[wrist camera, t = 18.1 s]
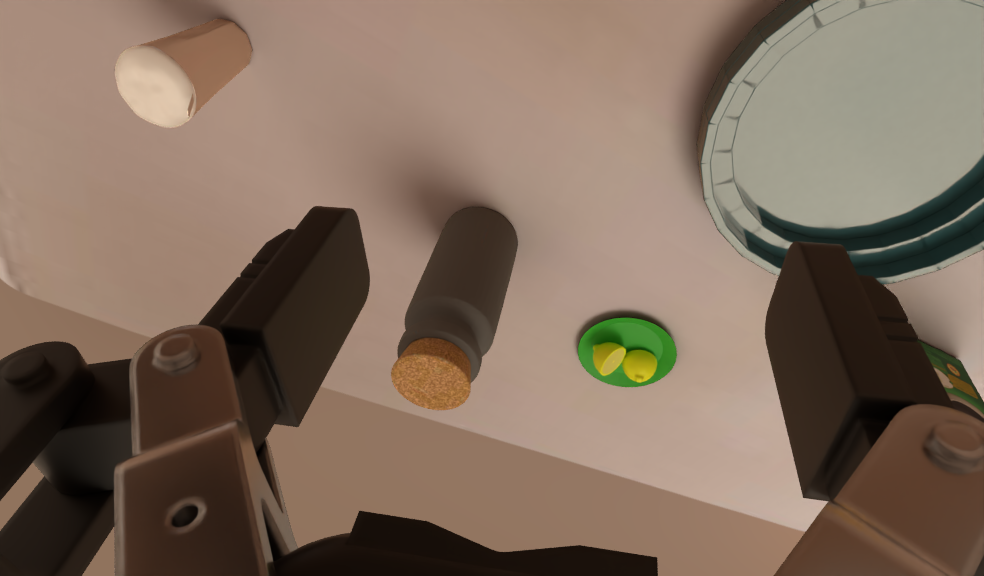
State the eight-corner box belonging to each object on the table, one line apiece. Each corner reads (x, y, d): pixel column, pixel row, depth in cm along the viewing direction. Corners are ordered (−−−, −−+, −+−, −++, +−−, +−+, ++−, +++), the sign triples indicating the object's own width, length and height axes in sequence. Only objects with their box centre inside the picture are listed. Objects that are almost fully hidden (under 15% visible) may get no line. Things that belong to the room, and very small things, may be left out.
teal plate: (733, -52, 32) (740, -40, 29) (1159, -53, 28) (1205, -40, 26) (675, 249, 44) (677, 274, 41) (970, 271, 40) (990, 299, 38)
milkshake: (276, 87, 41) (194, 152, 34) (201, 69, 42) (103, 130, 34) (271, 19, 38) (181, 73, 31) (191, 0, 39) (82, 49, 31)
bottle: (534, 244, 46) (500, 394, 34) (481, 281, 49) (434, 429, 37) (480, 191, 43) (424, 331, 32) (428, 233, 47) (361, 374, 35)
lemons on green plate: (572, 373, 53) (569, 397, 51) (585, 305, 48) (583, 329, 46) (663, 388, 52) (664, 413, 50) (687, 321, 47) (689, 346, 45)
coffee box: (841, 338, 46) (899, 489, 36) (871, 313, 44) (941, 465, 34) (928, 380, 47) (1009, 538, 37) (961, 357, 45) (1055, 518, 35)
